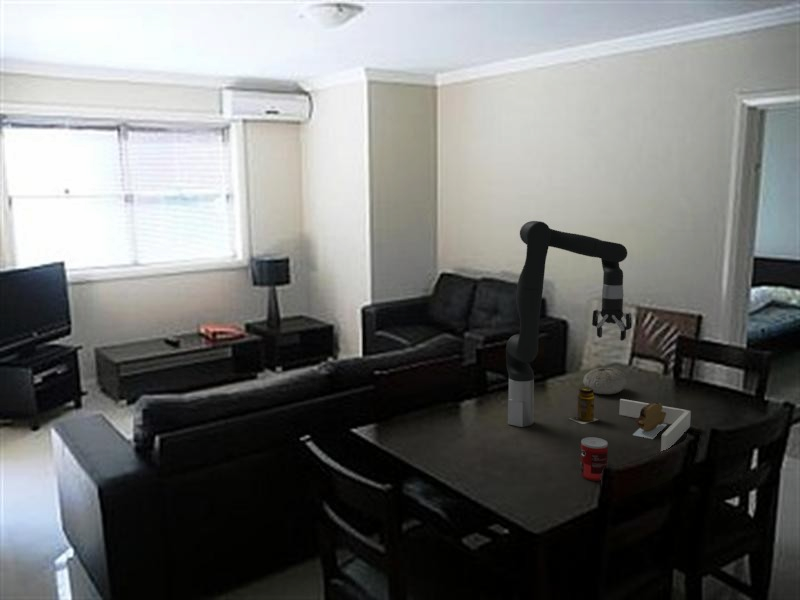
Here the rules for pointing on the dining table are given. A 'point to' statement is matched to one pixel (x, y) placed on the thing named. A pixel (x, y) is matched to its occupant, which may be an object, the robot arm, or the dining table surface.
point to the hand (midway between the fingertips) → (611, 338)
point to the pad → (649, 432)
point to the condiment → (585, 406)
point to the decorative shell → (605, 380)
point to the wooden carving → (650, 417)
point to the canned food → (593, 457)
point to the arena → (673, 416)
